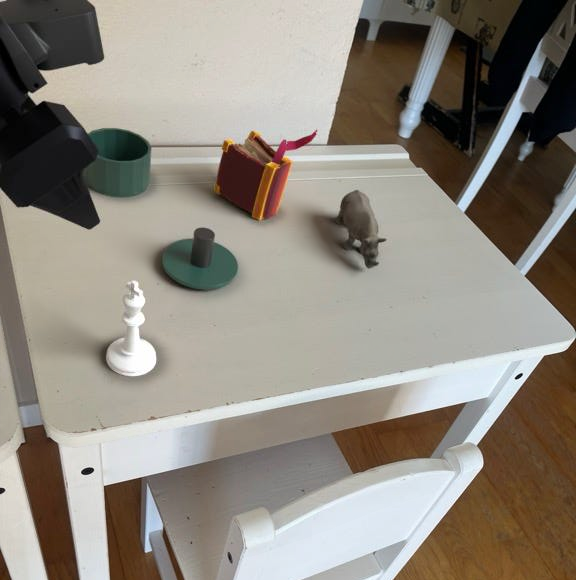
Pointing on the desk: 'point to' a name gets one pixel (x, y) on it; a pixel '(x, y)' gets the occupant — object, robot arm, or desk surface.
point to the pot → (119, 163)
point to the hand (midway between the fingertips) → (72, 195)
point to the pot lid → (200, 261)
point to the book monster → (256, 173)
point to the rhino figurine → (360, 226)
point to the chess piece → (131, 339)
